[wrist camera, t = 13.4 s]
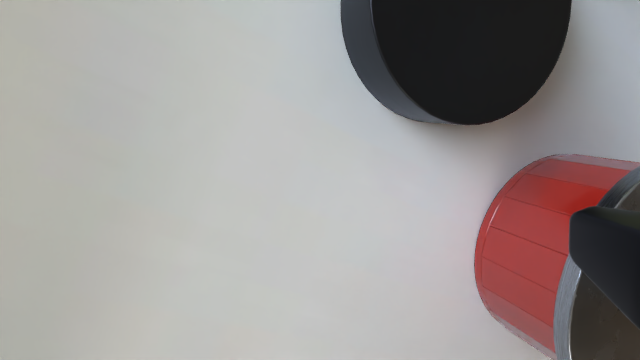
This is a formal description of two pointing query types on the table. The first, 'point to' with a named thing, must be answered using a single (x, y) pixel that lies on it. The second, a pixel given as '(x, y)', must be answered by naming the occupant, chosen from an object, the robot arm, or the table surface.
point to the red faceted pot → (536, 239)
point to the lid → (595, 301)
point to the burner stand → (454, 54)
